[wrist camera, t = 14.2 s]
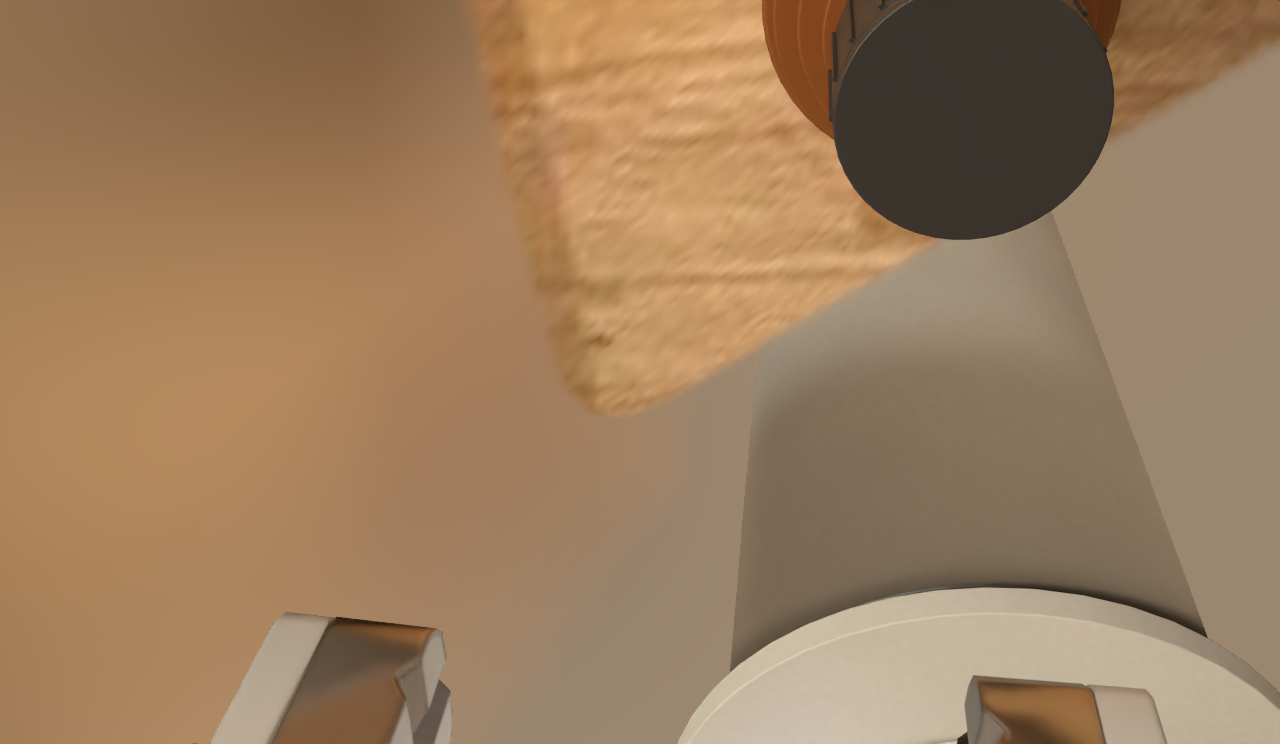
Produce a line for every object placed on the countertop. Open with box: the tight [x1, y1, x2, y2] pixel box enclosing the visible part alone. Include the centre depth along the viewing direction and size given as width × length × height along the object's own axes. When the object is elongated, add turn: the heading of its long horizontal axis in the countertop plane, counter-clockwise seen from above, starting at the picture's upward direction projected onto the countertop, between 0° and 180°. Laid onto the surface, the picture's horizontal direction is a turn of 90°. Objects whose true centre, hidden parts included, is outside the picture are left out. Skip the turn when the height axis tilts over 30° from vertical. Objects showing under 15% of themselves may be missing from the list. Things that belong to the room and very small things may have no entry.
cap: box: [828, 0, 1114, 240], centre depth 19 cm, size 4×4×3 cm
